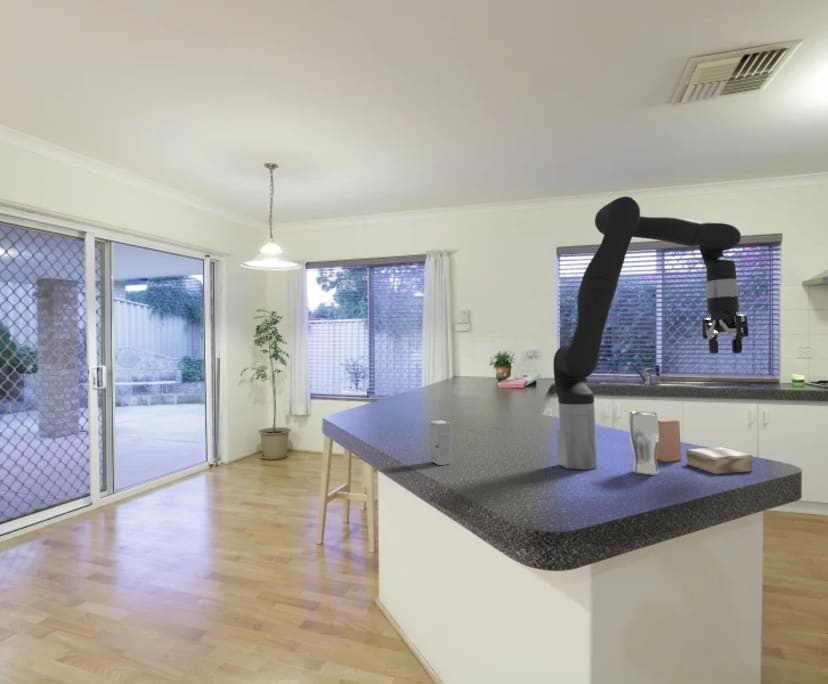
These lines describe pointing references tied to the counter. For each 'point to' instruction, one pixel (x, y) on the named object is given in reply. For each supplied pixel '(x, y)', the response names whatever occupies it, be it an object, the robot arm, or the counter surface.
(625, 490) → the counter surface
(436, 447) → the skincare box
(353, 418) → the counter surface
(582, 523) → the counter surface
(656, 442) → the beer glass
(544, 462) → the counter surface
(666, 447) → the pillar
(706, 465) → the base slab
